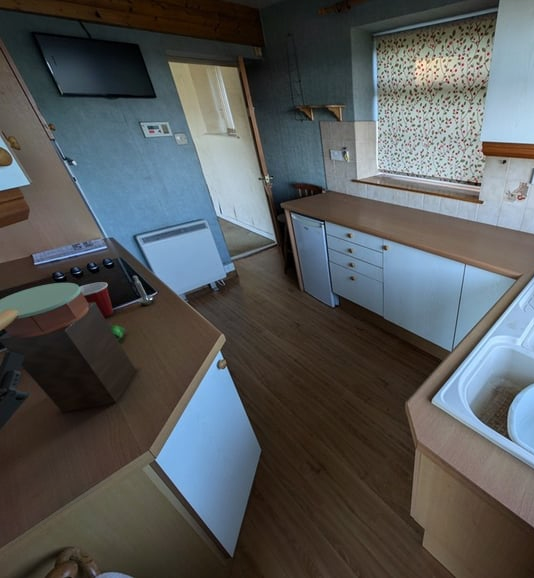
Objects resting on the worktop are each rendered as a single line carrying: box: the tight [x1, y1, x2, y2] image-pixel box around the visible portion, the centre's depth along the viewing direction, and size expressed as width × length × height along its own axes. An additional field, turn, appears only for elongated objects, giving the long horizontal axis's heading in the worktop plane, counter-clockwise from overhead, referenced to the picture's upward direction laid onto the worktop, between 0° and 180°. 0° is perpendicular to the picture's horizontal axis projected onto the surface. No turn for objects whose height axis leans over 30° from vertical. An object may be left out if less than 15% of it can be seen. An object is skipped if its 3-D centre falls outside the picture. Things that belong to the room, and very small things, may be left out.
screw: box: [132, 275, 154, 306], centre depth 116 cm, size 13×5×5 cm
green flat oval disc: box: [0, 282, 81, 332], centre depth 62 cm, size 26×15×3 cm, turn 15°
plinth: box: [0, 292, 137, 413], centre depth 75 cm, size 14×14×30 cm
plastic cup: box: [79, 281, 114, 319], centre depth 109 cm, size 11×11×12 cm
